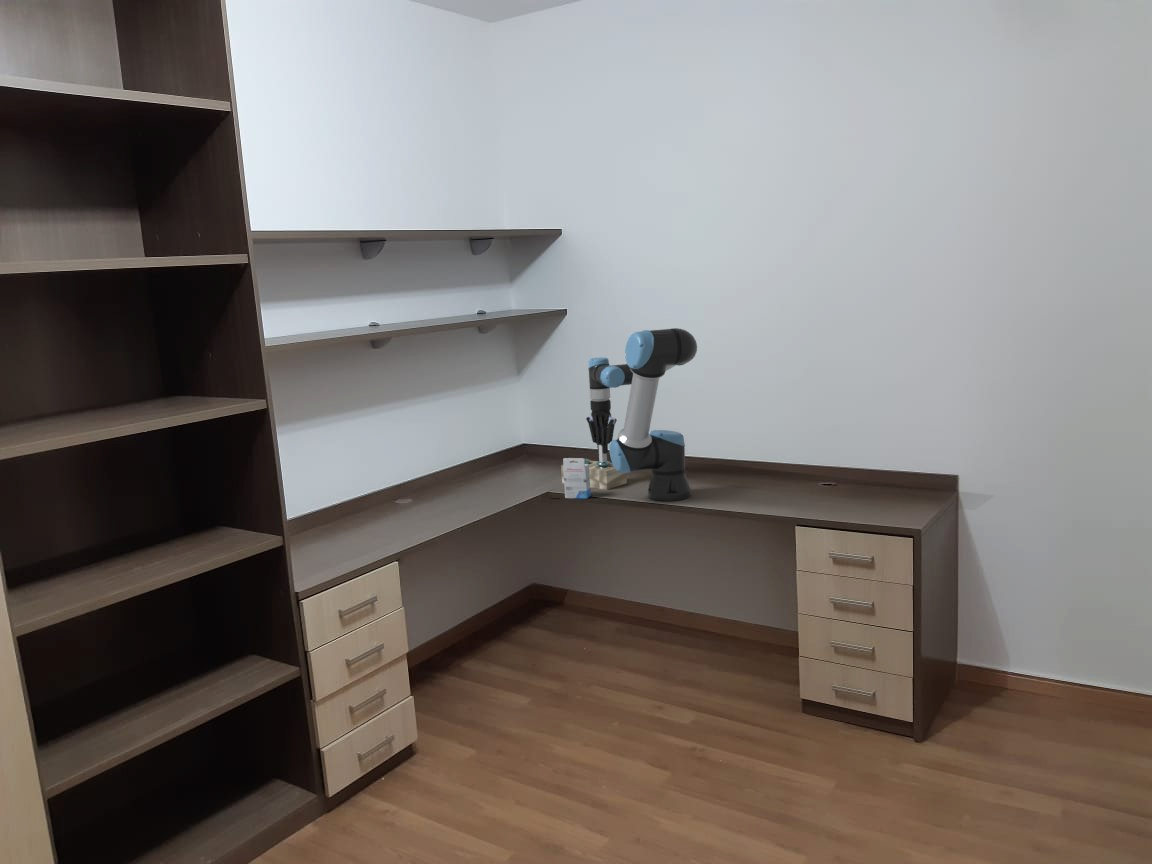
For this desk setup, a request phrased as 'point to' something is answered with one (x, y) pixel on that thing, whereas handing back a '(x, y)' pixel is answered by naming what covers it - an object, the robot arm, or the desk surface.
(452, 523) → the desk surface
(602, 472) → the socket block
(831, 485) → the desk surface
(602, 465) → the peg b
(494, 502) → the desk surface
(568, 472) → the ink box
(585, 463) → the teal lidded jar
